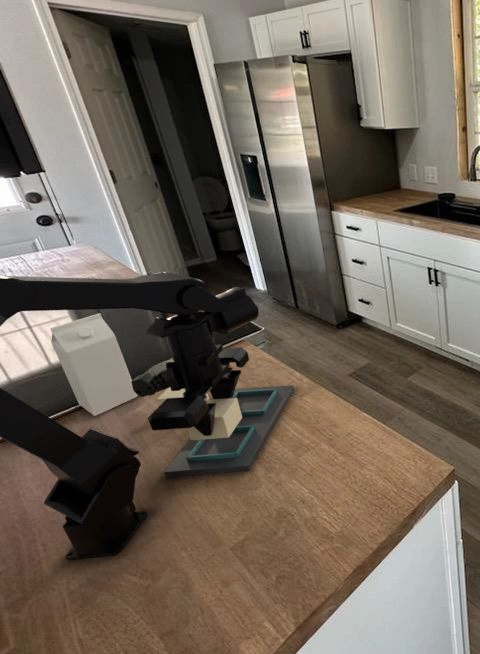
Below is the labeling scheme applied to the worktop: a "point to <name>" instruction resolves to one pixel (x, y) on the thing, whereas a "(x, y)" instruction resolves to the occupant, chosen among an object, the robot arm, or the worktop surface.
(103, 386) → the milk carton
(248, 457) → the back board
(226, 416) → the pad
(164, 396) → the pad
